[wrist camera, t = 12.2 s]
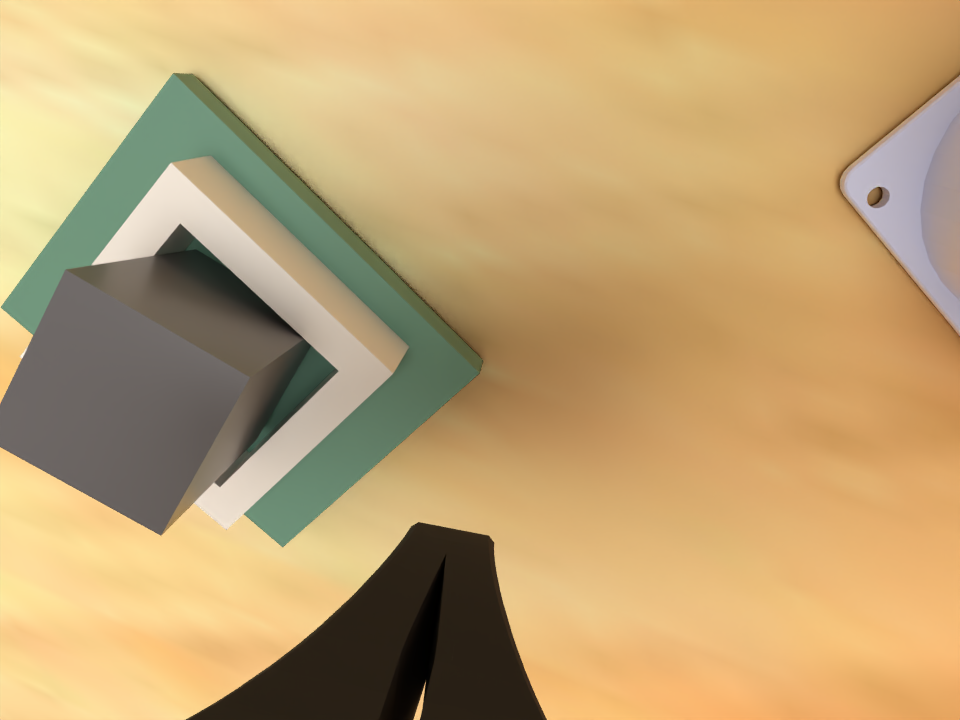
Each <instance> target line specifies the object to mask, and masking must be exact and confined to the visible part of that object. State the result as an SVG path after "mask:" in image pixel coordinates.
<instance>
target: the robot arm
mask: <svg viewBox="0 0 960 720" xmlns="http://www.w3.org/2000/svg"><path fill="white" fill-rule="evenodd" d="M876 187H881V188H882V191H883V196H882V199H881V200H880V201H879V203H877V204H875V205H873V206H869V205H868V202H867V197H868V194H869V193H870V191H871V190H872V189H874V188H876ZM840 189H841V191H842V193H843V195H844V196H845V198H846V199H847V200H848V201H849V202H850V204H851V205H852V206H853V207H854V209H855V210H856V211H857V212H858V213H859V215H860V216H861V217H862V218H863V219H864V221H865V222H866V223H867V224H868V226H869V227H870V228H871V229H872V230H873V232H874V233H875V234H876V235H877V236H878V238H879V239H880V240H881V241H882V242H883V244H884V245H885V246H886V247H887V249H888V250H889V251H890V252H891V253H892V255H893V256H894V257H895V258H896V259H897V261H898V262H899V263H900V264H901V266H902V267H903V268H904V269H905V270H906V272H907V273H908V274H909V275H910V276H911V278H912V279H913V280H914V281H915V282H916V284H917V285H918V286H919V287H920V289H921V290H922V291H923V292H924V293H925V295H926V296H927V297H928V298H929V299H930V301H931V302H932V303H933V304H934V306H935V307H936V308H937V309H938V310H939V312H940V313H941V314H942V315H943V316H944V318H945V319H946V320H947V321H948V322H949V324H950V325H951V326H952V327H953V329H954V330H955V331H956V332H957V333H958V335H959V336H960V75H959V76H958V77H957V78H956V79H955V80H953V81H952V82H951V83H950V84H948V85H947V86H946V87H945V88H944V89H942V90H941V91H940V92H939V93H938V94H936V95H935V96H934V97H933V98H931V99H930V100H929V101H928V102H927V103H925V104H924V105H923V106H922V107H920V108H919V109H918V110H917V111H916V112H914V113H913V114H912V115H911V116H909V117H908V118H907V119H906V120H905V121H903V122H902V123H901V124H900V125H899V126H897V127H896V128H895V129H894V130H892V131H891V132H890V133H889V134H888V135H886V136H885V137H884V138H883V139H881V140H880V141H879V142H878V143H877V144H875V145H874V146H873V147H872V148H870V149H869V150H868V151H867V152H866V153H864V154H863V155H862V156H861V157H860V158H858V159H857V160H856V161H855V162H853V163H852V164H851V165H850V166H849V167H848V168H847V169H846V170H845V171H844V172H843V174H842V177H841V179H840ZM425 682H426V685H425ZM424 685H425V693H424V702H423V710H422V714H421V718H420V720H547V719H546V717H545V715H544V713H543V711H542V709H541V706H540V704H539V702H538V700H537V698H536V696H535V693H534V691H533V689H532V686H531V684H530V681H529V679H528V676H527V674H526V671H525V669H524V666H523V663H522V661H521V658H520V655H519V653H518V650H517V647H516V644H515V641H514V638H513V635H512V632H511V629H510V625H509V622H508V618H507V615H506V611H505V608H504V605H503V601H502V597H501V593H500V588H499V583H498V578H497V573H496V567H495V559H494V542H493V541H492V539H491V538H490V537H489V536H487V535H482V534H477V533H472V532H467V531H461V530H456V529H451V528H446V527H441V526H435V525H430V524H425V523H420V522H418V523H417V524H415V525H413V526H411V528H410V529H409V531H408V532H407V534H406V535H405V537H404V538H403V539H402V541H401V542H400V543H399V545H398V546H397V547H396V548H395V550H394V551H393V552H392V553H391V555H390V556H389V557H388V558H387V559H386V560H385V562H384V563H383V564H382V565H381V566H380V567H379V568H378V570H377V571H376V572H375V573H374V574H373V575H372V576H371V577H370V578H369V579H368V580H367V581H366V582H365V583H364V584H363V585H362V587H361V588H360V589H359V590H358V591H357V592H356V593H355V594H354V595H353V596H352V597H351V598H350V599H349V600H348V601H347V602H346V603H344V604H343V605H342V606H341V607H340V608H339V609H338V610H337V611H336V612H335V613H334V614H333V615H332V616H330V617H329V618H328V619H327V620H326V621H325V622H324V623H323V624H322V625H321V626H320V627H318V628H317V629H316V630H315V631H314V632H313V633H311V634H310V635H309V636H308V637H307V638H305V639H304V640H303V641H302V642H301V643H299V644H298V645H297V646H296V647H294V648H293V649H292V650H291V651H289V652H288V653H287V654H285V655H284V656H283V657H281V658H280V659H279V660H278V661H276V662H275V663H273V664H272V665H271V666H269V667H268V668H266V669H265V670H264V671H262V672H261V673H259V674H258V675H256V676H255V677H254V678H252V679H251V680H249V681H248V682H246V683H245V684H243V685H242V686H241V687H239V688H238V689H236V690H235V691H233V692H231V693H230V694H228V695H227V696H225V697H224V698H222V699H220V700H219V701H217V702H216V703H214V704H212V705H211V706H209V707H207V708H205V709H204V710H202V711H200V712H198V713H197V714H195V715H193V716H191V717H190V718H188V719H186V720H413V719H414V716H415V713H416V710H417V706H418V703H419V700H420V697H421V694H422V691H423V688H424Z"/></svg>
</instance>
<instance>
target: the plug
mask: <svg viewBox="0 0 960 720" xmlns="http://www.w3.org/2000/svg"><path fill="white" fill-rule="evenodd" d="M310 346H311V345H310V344H309V343H308V342H307V341H306V340H305V339H304V338H303V337H302V336H301V335H300V334H299V333H297V332H296V331H295V330H294V329H293V328H292V327H291V326H290V325H289V324H288V323H287V322H286V321H285V320H283V319H282V318H281V317H280V316H279V315H278V314H277V313H276V312H275V311H274V310H273V309H272V308H271V307H269V306H268V305H267V304H266V303H265V302H264V301H263V300H262V299H261V298H260V297H259V296H258V295H257V294H256V293H254V292H253V291H252V290H251V289H250V288H249V287H248V286H247V285H246V284H245V283H244V282H243V281H242V280H240V279H239V278H238V277H237V276H236V275H235V274H234V273H233V272H232V271H231V270H230V269H228V268H226V267H225V266H223V265H221V264H220V263H218V262H216V261H215V260H213V259H211V258H210V257H208V256H206V255H205V254H203V253H201V252H200V251H198V250H196V249H194V250H187V251H181V252H174V253H168V254H162V255H155V256H149V257H142V258H136V259H129V260H123V261H117V262H110V263H104V264H97V265H91V266H84V267H78V268H72V269H65V271H64V273H63V275H62V277H61V279H60V282H59V284H58V286H57V288H56V290H55V292H54V294H53V296H52V298H51V300H50V302H49V304H48V306H47V308H46V311H45V313H44V315H43V317H42V319H41V321H40V323H39V325H38V327H37V329H36V331H35V333H34V335H33V337H32V340H31V342H30V344H29V346H28V348H27V350H26V352H25V354H24V356H23V358H22V360H21V362H20V364H19V366H18V369H17V371H16V373H15V375H14V377H13V379H12V381H11V383H10V385H9V387H8V389H7V391H6V393H5V395H4V398H3V400H2V402H1V404H0V447H1V448H3V449H5V450H6V451H8V452H10V453H12V454H14V455H16V456H17V457H19V458H21V459H23V460H25V461H26V462H28V463H30V464H32V465H34V466H36V467H37V468H39V469H41V470H43V471H45V472H46V473H48V474H50V475H52V476H54V477H56V478H57V479H59V480H61V481H63V482H65V483H66V484H68V485H70V486H72V487H74V488H76V489H77V490H79V491H81V492H83V493H85V494H86V495H88V496H90V497H92V498H94V499H96V500H97V501H99V502H101V503H103V504H105V505H106V506H108V507H110V508H112V509H114V510H116V511H117V512H119V513H121V514H123V515H125V516H126V517H128V518H130V519H132V520H134V521H135V522H137V523H139V524H141V525H143V526H145V527H146V528H148V529H150V530H152V531H154V532H155V533H157V534H159V535H162V534H163V533H164V532H165V531H166V530H167V529H168V528H169V527H170V526H171V525H172V524H173V523H174V522H175V521H176V520H177V519H178V518H179V517H180V516H181V515H182V514H183V513H184V512H185V511H186V510H187V509H188V508H189V507H190V506H191V505H192V504H193V503H194V502H195V501H196V500H197V499H198V498H199V497H200V496H201V495H202V494H203V493H204V492H205V491H206V490H207V489H208V488H209V487H210V486H211V485H212V484H213V483H214V482H215V481H216V480H217V479H218V478H219V477H220V476H221V475H222V474H223V473H224V472H225V471H226V470H227V469H228V468H229V467H230V466H231V465H232V464H233V463H234V462H235V461H236V460H237V459H238V458H239V457H240V456H241V455H242V454H243V453H244V452H245V451H246V450H247V449H248V448H249V447H250V446H251V445H252V444H253V443H254V442H255V441H256V440H257V438H258V436H259V435H260V433H261V431H262V430H263V428H264V426H265V424H266V423H267V421H268V419H269V417H270V416H271V414H272V412H273V410H274V409H275V407H276V405H277V404H278V402H279V400H280V398H281V397H282V395H283V393H284V391H285V390H286V388H287V386H288V385H289V383H290V381H291V379H292V378H293V376H294V374H295V372H296V371H297V369H298V367H299V365H300V364H301V362H302V360H303V359H304V357H305V355H306V353H307V352H308V350H309V348H310Z"/></svg>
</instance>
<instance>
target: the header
mask: <svg viewBox="0 0 960 720" xmlns="http://www.w3.org/2000/svg"><path fill="white" fill-rule="evenodd" d="M194 238H196V239H198V240H199V241H200V242H201V243H202V244H203V245H204V246H205V247H206V248H207V249H208V250H209V251H210V252H211V253H213V254H214V255H215V256H216V257H217V258H218V259H219V260H220V261H221V262H222V263H223V264H224V265H225V266H227V267H228V268H229V269H230V270H231V271H232V272H233V273H234V274H235V275H236V276H237V277H238V278H239V279H240V280H242V281H243V282H244V283H245V284H246V285H247V286H248V287H249V288H250V289H251V290H252V291H253V292H254V293H256V294H257V295H258V296H259V297H260V298H261V299H262V300H263V301H264V302H265V303H266V304H267V305H268V306H269V307H271V308H272V309H273V310H274V311H275V312H276V313H277V314H278V315H279V316H280V317H281V318H282V319H283V320H285V321H286V322H287V323H288V324H289V325H290V326H291V327H292V328H293V329H294V330H295V331H296V332H297V333H299V334H300V335H301V336H302V337H303V338H304V339H305V340H306V341H307V342H308V343H309V344H310V345H311V346H312V347H314V348H315V349H316V350H317V351H318V352H319V353H320V354H321V355H322V356H323V357H324V358H325V359H326V360H328V361H329V362H330V363H331V364H332V365H333V366H334V367H335V368H336V369H335V370H334V371H333V372H332V373H330V374H329V375H328V376H327V377H326V378H325V379H324V380H323V381H322V382H321V383H320V384H319V385H318V386H317V387H316V388H315V389H314V390H313V391H312V392H311V393H310V394H309V395H308V396H307V397H306V398H305V399H304V400H303V401H302V402H301V403H300V404H299V405H298V406H297V407H296V408H295V409H294V410H293V411H292V412H291V413H290V414H289V415H288V416H287V417H286V418H285V419H284V420H283V421H282V422H281V423H280V424H278V425H277V426H276V427H275V428H274V429H273V430H272V431H271V432H270V433H269V434H268V435H267V436H266V437H265V438H264V439H263V440H262V441H261V442H260V443H259V444H258V445H257V446H256V447H255V448H254V449H253V450H252V451H251V452H250V453H249V452H248V451H247V450H246V451H245V452H244V453H243V454H242V455H241V456H240V457H239V458H238V459H237V460H236V461H235V462H234V463H233V464H232V465H231V466H230V467H229V468H228V469H227V470H226V471H225V472H224V473H223V474H222V475H221V476H220V477H219V478H218V479H217V480H216V481H215V482H214V483H213V484H212V485H211V486H210V487H209V488H208V489H207V490H206V491H205V492H204V493H203V494H202V495H201V496H200V497H199V498H198V499H197V500H196V501H195V502H194V503H195V504H196V505H197V506H198V507H199V508H201V509H202V510H203V511H204V512H205V513H207V514H208V515H209V516H210V517H211V518H212V519H214V520H215V521H216V522H217V523H218V524H220V525H221V526H222V527H223V528H224V529H226V530H227V529H228V528H229V527H230V526H231V525H232V524H233V523H234V522H235V521H237V520H238V519H239V518H240V517H241V516H242V515H243V514H244V513H245V512H246V511H247V510H248V509H249V508H250V507H251V506H253V505H254V504H255V503H256V502H257V501H258V500H259V499H260V498H261V497H262V496H263V495H264V494H265V493H266V492H268V491H269V490H270V489H271V488H272V487H273V486H274V485H275V484H276V483H277V482H278V481H279V480H280V479H281V478H282V477H284V476H285V475H286V474H287V473H288V472H289V471H290V470H291V469H292V468H293V467H294V466H295V465H296V464H297V463H298V462H300V461H301V460H302V459H303V458H304V457H305V456H306V455H307V454H308V453H309V452H310V451H311V450H312V449H313V448H314V447H316V446H317V445H318V444H319V443H320V442H321V441H322V440H323V439H324V438H325V437H326V436H327V435H328V434H329V433H330V432H332V431H333V430H334V429H335V428H336V427H337V426H338V425H339V424H340V423H341V422H342V421H343V420H344V419H345V418H346V417H348V416H349V415H350V414H351V413H352V412H353V411H354V410H355V409H356V408H357V407H358V406H359V405H360V404H361V403H362V402H364V401H365V400H366V399H367V398H368V397H369V396H370V395H371V394H372V393H373V392H374V391H375V390H376V389H377V388H378V387H380V386H381V385H382V384H383V383H384V382H385V381H386V380H387V379H388V378H389V377H390V376H391V375H392V374H393V373H394V372H395V370H396V368H397V367H398V365H399V363H400V361H401V360H402V358H403V356H404V355H405V353H406V351H407V350H408V348H409V346H408V345H407V344H406V343H405V342H404V341H403V340H402V339H401V338H400V337H399V336H398V335H397V334H396V333H395V332H394V331H392V330H391V329H390V328H389V327H388V326H387V325H386V324H385V323H384V322H383V321H382V320H381V319H380V318H379V317H378V316H377V315H376V314H375V313H374V312H373V311H372V310H371V309H370V308H369V307H368V306H367V305H366V304H364V303H363V302H362V301H361V300H360V299H359V298H358V297H357V296H356V295H355V294H354V293H353V292H352V291H351V290H350V289H349V288H348V287H347V286H346V285H345V284H344V283H343V282H342V281H341V280H340V279H339V278H338V277H336V276H335V275H334V274H333V273H332V272H331V271H330V270H329V269H328V268H327V267H326V266H325V265H324V264H323V263H322V262H321V261H320V260H319V259H318V258H317V257H316V256H315V255H314V254H313V253H312V252H311V251H309V250H308V249H307V248H306V247H305V246H304V245H303V244H302V243H301V242H300V241H299V240H298V239H297V238H296V237H295V236H294V235H293V234H292V233H291V232H290V231H289V230H288V229H287V228H286V227H285V226H284V225H283V224H281V223H280V222H279V221H278V220H277V219H276V218H275V217H274V216H273V215H272V214H271V213H270V212H269V211H268V210H267V209H266V208H265V207H264V206H263V205H262V204H261V203H260V202H259V201H258V200H257V199H256V198H254V197H253V196H252V195H251V194H250V193H249V192H248V191H247V190H246V189H245V188H244V187H243V186H242V185H241V184H240V183H239V182H238V181H237V180H236V179H235V178H234V177H233V176H232V175H231V174H230V173H229V172H228V171H226V170H225V169H224V168H223V167H222V166H221V165H220V164H219V163H218V162H217V161H216V160H215V159H214V158H213V157H212V156H211V155H210V156H204V157H199V158H194V159H188V160H183V161H177V162H172V163H170V165H169V166H168V167H167V168H166V170H165V171H164V172H163V174H162V175H161V176H160V177H159V179H158V180H157V181H156V183H155V184H154V185H153V186H152V188H151V189H150V190H149V192H148V193H147V194H146V195H145V197H144V198H143V199H142V201H141V202H140V203H139V204H138V206H137V207H136V208H135V210H134V211H133V212H132V213H131V215H130V216H129V217H128V219H127V220H126V221H125V222H124V224H123V225H122V226H121V228H120V229H119V230H118V231H117V233H116V234H115V235H114V237H113V238H112V239H111V240H110V242H109V243H108V244H107V245H106V247H105V248H104V249H103V251H102V252H101V253H100V254H99V256H98V257H97V258H96V260H95V261H94V262H93V263H92V265H97V264H104V263H110V262H117V261H123V260H129V259H136V258H142V257H149V256H155V255H162V254H168V253H174V252H181V251H184V250H185V249H186V248H187V247H188V245H189V244H190V243H191V242H192V241H193V239H194ZM27 348H28V347H27ZM27 348H26V350H27ZM26 350H25V351H24V352H23V353H22V355H21V356H20V357H21V358H23V356H24V354H25V352H26Z"/></svg>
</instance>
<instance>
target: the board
mask: <svg viewBox="0 0 960 720" xmlns="http://www.w3.org/2000/svg"><path fill="white" fill-rule="evenodd" d="M210 155H211V156H212V157H213V158H214V159H215V160H216V161H217V162H218V163H219V164H220V165H221V166H222V167H223V168H224V169H225V170H226V171H228V172H229V173H230V174H231V175H232V176H233V177H234V178H235V179H236V180H237V181H238V182H239V183H240V184H241V185H242V186H243V187H244V188H245V189H246V190H247V191H248V192H249V193H250V194H251V195H252V196H253V197H254V198H256V199H257V200H258V201H259V202H260V203H261V204H262V205H263V206H264V207H265V208H266V209H267V210H268V211H269V212H270V213H271V214H272V215H273V216H274V217H275V218H276V219H277V220H278V221H279V222H280V223H281V224H283V225H284V226H285V227H286V228H287V229H288V230H289V231H290V232H291V233H292V234H293V235H294V236H295V237H296V238H297V239H298V240H299V241H300V242H301V243H302V244H303V245H304V246H305V247H306V248H307V249H308V250H309V251H311V252H312V253H313V254H314V255H315V256H316V257H317V258H318V259H319V260H320V261H321V262H322V263H323V264H324V265H325V266H326V267H327V268H328V269H329V270H330V271H331V272H332V273H333V274H334V275H335V276H336V277H338V278H339V279H340V280H341V281H342V282H343V283H344V284H345V285H346V286H347V287H348V288H349V289H350V290H351V291H352V292H353V293H354V294H355V295H356V296H357V297H358V298H359V299H360V300H361V301H362V302H363V303H364V304H366V305H367V306H368V307H369V308H370V309H371V310H372V311H373V312H374V313H375V314H376V315H377V316H378V317H379V318H380V319H381V320H382V321H383V322H384V323H385V324H386V325H387V326H388V327H389V328H390V329H391V330H392V331H394V332H395V333H396V334H397V335H398V336H399V337H400V338H401V339H402V340H403V341H404V342H405V343H406V344H407V345H408V346H409V348H408V350H407V351H406V353H405V355H404V356H403V358H402V360H401V361H400V363H399V365H398V367H397V368H396V370H395V372H394V373H393V374H392V375H391V376H390V377H389V378H388V379H387V380H386V381H385V382H384V383H383V384H382V385H381V386H380V387H378V388H377V389H376V390H375V391H374V392H373V393H372V394H371V395H370V396H369V397H368V398H367V399H366V400H365V401H364V402H362V403H361V404H360V405H359V406H358V407H357V408H356V409H355V410H354V411H353V412H352V413H351V414H350V415H349V416H348V417H346V418H345V419H344V420H343V421H342V422H341V423H340V424H339V425H338V426H337V427H336V428H335V429H334V430H333V431H332V432H330V433H329V434H328V435H327V436H326V437H325V438H324V439H323V440H322V441H321V442H320V443H319V444H318V445H317V446H316V447H314V448H313V449H312V450H311V451H310V452H309V453H308V454H307V455H306V456H305V457H304V458H303V459H302V460H301V461H300V462H298V463H297V464H296V465H295V466H294V467H293V468H292V469H291V470H290V471H289V472H288V473H287V474H286V475H285V476H284V477H282V478H281V479H280V480H279V481H278V482H277V483H276V484H275V485H274V486H273V487H272V488H271V489H270V490H269V491H268V492H266V493H265V494H264V495H263V496H262V497H261V498H260V499H259V500H258V501H257V502H256V503H255V504H254V505H253V506H251V507H250V508H249V509H248V510H247V511H246V512H245V513H244V515H245V516H247V517H248V518H249V519H250V520H251V521H252V522H254V523H255V524H256V525H257V526H258V527H259V528H261V529H262V530H263V531H264V532H265V533H267V534H268V535H269V536H270V537H271V538H272V539H274V540H275V541H276V542H277V543H278V544H279V545H281V546H282V547H284V546H285V545H286V544H287V543H288V542H289V541H290V540H292V539H293V538H294V537H295V536H296V535H297V534H298V533H299V532H301V531H302V530H303V529H304V528H305V527H306V526H307V525H308V524H310V523H311V522H312V521H313V520H314V519H315V518H316V517H318V516H319V515H320V514H321V513H322V512H323V511H324V510H325V509H327V508H328V507H329V506H330V505H331V504H332V503H333V502H335V501H336V500H337V499H338V498H339V497H340V496H341V495H342V494H344V493H345V492H346V491H347V490H348V489H349V488H350V487H351V486H353V485H354V484H355V483H356V482H357V481H358V480H359V479H361V478H362V477H363V476H364V475H365V474H366V473H367V472H368V471H370V470H371V469H372V468H373V467H374V466H375V465H376V464H377V463H379V462H380V461H381V460H382V459H383V458H384V457H385V456H387V455H388V454H389V453H390V452H391V451H392V450H393V449H394V448H396V447H397V446H398V445H399V444H400V443H401V442H402V441H403V440H405V439H406V438H407V437H408V436H409V435H410V434H411V433H413V432H414V431H415V430H416V429H417V428H418V427H419V426H420V425H422V424H423V423H424V422H425V421H426V420H427V419H428V418H430V417H431V416H432V415H433V414H434V413H435V412H436V411H437V410H439V409H440V408H441V407H442V406H443V405H444V404H445V403H446V402H448V401H449V400H450V399H451V398H452V397H453V396H454V395H456V394H457V393H458V392H459V391H460V390H461V389H462V388H463V387H465V386H466V385H467V384H468V383H469V382H470V381H471V380H472V379H474V378H475V377H476V376H477V375H478V374H479V373H480V370H481V367H482V363H483V360H482V359H481V358H480V357H479V356H478V355H477V354H476V353H475V352H474V351H473V350H472V349H471V348H470V347H469V346H468V345H467V344H466V343H465V342H464V341H463V340H462V339H461V338H460V337H459V336H458V335H457V334H456V333H455V332H454V331H453V330H452V329H451V328H450V327H449V326H448V325H447V324H446V323H445V322H444V321H443V320H442V319H441V318H440V317H439V316H438V315H437V314H436V313H435V312H434V311H433V310H432V309H431V308H430V307H429V306H428V305H427V304H425V303H424V302H423V301H422V300H421V299H420V298H419V297H418V296H417V295H416V294H415V293H414V292H413V291H412V290H411V289H410V288H409V287H408V286H407V285H406V284H405V283H404V282H403V281H402V280H401V279H400V278H399V277H398V276H397V275H396V274H395V273H394V272H393V271H392V270H391V269H390V268H389V267H388V266H387V265H386V264H385V263H384V262H383V261H382V260H381V259H380V258H379V257H378V256H377V255H376V254H375V253H374V252H373V251H372V250H371V249H370V248H369V247H368V246H367V245H366V244H365V243H364V242H363V241H362V240H361V239H360V238H359V237H358V236H356V235H355V234H354V233H353V232H352V231H351V230H350V229H349V228H348V227H347V226H346V225H345V224H344V223H343V222H342V221H341V220H340V219H339V218H338V217H337V216H336V215H335V214H334V213H333V212H332V211H331V210H330V209H329V208H328V207H327V206H326V205H325V204H324V203H323V202H322V201H321V200H320V199H319V198H318V197H317V196H316V195H315V194H314V193H313V192H312V191H311V190H310V189H309V188H308V187H307V186H306V185H305V184H304V183H303V182H302V181H301V180H300V179H299V178H298V177H297V176H296V175H295V174H294V173H293V172H292V171H291V170H290V169H288V168H287V167H286V166H285V165H284V164H283V163H282V162H281V161H280V160H279V159H278V158H277V157H276V156H275V155H274V154H273V153H272V152H271V151H270V150H269V149H268V148H267V147H266V146H265V145H264V144H263V143H262V142H261V141H260V140H259V139H258V138H257V137H256V136H255V135H254V134H253V133H252V132H251V131H250V130H249V129H248V128H247V127H246V126H245V125H244V124H243V123H242V122H241V121H240V120H239V119H238V118H237V117H236V116H235V115H234V114H233V113H232V112H231V111H230V110H229V109H228V108H227V107H226V106H225V105H224V104H223V103H222V102H221V101H219V100H218V99H217V98H216V97H215V96H214V95H213V94H212V93H211V92H210V91H209V90H208V89H207V88H206V87H205V86H204V85H203V84H202V83H201V82H200V81H199V80H198V79H197V78H196V77H195V76H194V75H193V74H179V73H173V74H172V76H171V77H170V78H169V80H168V81H167V82H166V84H165V85H164V86H163V88H162V89H161V90H160V92H159V93H158V95H157V96H156V97H155V99H154V100H153V101H152V103H151V104H150V105H149V107H148V108H147V109H146V111H145V112H144V114H143V115H142V116H141V118H140V119H139V120H138V122H137V123H136V124H135V126H134V127H133V128H132V130H131V131H130V133H129V134H128V135H127V137H126V138H125V139H124V141H123V142H122V143H121V145H120V146H119V147H118V149H117V150H116V152H115V153H114V154H113V156H112V157H111V158H110V160H109V161H108V162H107V164H106V165H105V166H104V168H103V169H102V171H101V172H100V173H99V175H98V176H97V177H96V179H95V180H94V181H93V183H92V184H91V185H90V187H89V188H88V190H87V191H86V192H85V194H84V195H83V196H82V198H81V199H80V200H79V202H78V203H77V204H76V206H75V207H74V209H73V210H72V211H71V213H70V214H69V215H68V217H67V218H66V219H65V221H64V222H63V223H62V225H61V226H60V228H59V229H58V230H57V232H56V233H55V234H54V236H53V237H52V238H51V240H50V241H49V242H48V244H47V245H46V247H45V248H44V249H43V251H42V252H41V253H40V255H39V256H38V257H37V259H36V260H35V261H34V263H33V264H32V265H31V267H30V268H29V270H28V271H27V272H26V274H25V275H24V276H23V278H22V279H21V280H20V282H19V283H18V284H17V286H16V287H15V289H14V290H13V291H12V293H11V294H10V295H9V297H8V298H7V299H6V301H5V302H4V303H3V305H2V306H1V308H2V309H3V310H4V311H6V312H7V313H8V314H9V315H10V316H11V317H13V318H14V319H15V320H16V321H17V322H19V323H20V324H21V325H22V326H23V327H24V328H26V329H27V330H28V331H29V332H30V333H31V334H33V335H34V333H35V331H36V329H37V327H38V325H39V323H40V321H41V319H42V317H43V315H44V313H45V311H46V308H47V306H48V304H49V302H50V300H51V298H52V296H53V294H54V292H55V290H56V288H57V286H58V284H59V282H60V279H61V277H62V275H63V273H64V271H65V269H72V268H78V267H84V266H91V265H92V263H93V262H94V261H95V260H96V258H97V257H98V256H99V254H100V253H101V252H102V251H103V249H104V248H105V247H106V245H107V244H108V243H109V242H110V240H111V239H112V238H113V237H114V235H115V234H116V233H117V231H118V230H119V229H120V228H121V226H122V225H123V224H124V222H125V221H126V220H127V219H128V217H129V216H130V215H131V213H132V212H133V211H134V210H135V208H136V207H137V206H138V204H139V203H140V202H141V201H142V199H143V198H144V197H145V195H146V194H147V193H148V192H149V190H150V189H151V188H152V186H153V185H154V184H155V183H156V181H157V180H158V179H159V177H160V176H161V175H162V174H163V172H164V171H165V170H166V168H167V167H168V166H169V165H170V163H172V162H177V161H183V160H188V159H194V158H199V157H204V156H210ZM194 249H196V250H198V251H200V252H201V253H203V254H205V255H206V256H208V257H210V258H211V259H213V260H215V261H216V262H218V263H220V264H221V265H223V266H225V265H224V264H223V263H222V262H221V261H220V260H219V259H218V258H217V257H216V256H215V255H214V254H213V253H211V252H210V251H209V250H208V249H207V248H206V247H205V246H204V245H203V244H202V243H201V242H200V241H199V240H198V239H196V238H194V239H193V241H192V242H191V243H190V244H189V245H188V247H187V248H186V249H185V250H184V251H187V250H194ZM225 267H226V268H228V267H227V266H225ZM228 269H229V268H228ZM335 369H336V368H335V367H334V366H333V365H332V364H331V363H330V362H329V361H328V360H326V359H325V358H324V357H323V356H322V355H321V354H320V353H319V352H318V351H317V350H316V349H315V348H314V347H312V346H310V348H309V350H308V352H307V353H306V355H305V357H304V359H303V360H302V362H301V364H300V365H299V367H298V369H297V371H296V372H295V374H294V376H293V378H292V379H291V381H290V383H289V385H288V386H287V388H286V390H285V391H284V393H283V395H282V397H281V398H280V400H279V402H278V404H277V405H276V407H275V409H274V410H273V412H272V414H271V416H270V417H269V419H268V421H267V423H266V424H265V426H264V428H263V430H262V431H261V433H260V435H259V436H258V438H257V440H256V441H255V442H254V443H253V444H252V445H251V446H250V447H249V448H248V449H247V451H248V452H249V453H250V452H251V451H252V450H253V449H254V448H255V447H256V446H257V445H258V444H259V443H260V442H261V441H262V440H263V439H264V438H265V437H266V436H267V435H268V434H269V433H270V432H271V431H272V430H273V429H274V428H275V427H276V426H277V425H278V424H280V423H281V422H282V421H283V420H284V419H285V418H286V417H287V416H288V415H289V414H290V413H291V412H292V411H293V410H294V409H295V408H296V407H297V406H298V405H299V404H300V403H301V402H302V401H303V400H304V399H305V398H306V397H307V396H308V395H309V394H310V393H311V392H312V391H313V390H314V389H315V388H316V387H317V386H318V385H319V384H320V383H321V382H322V381H323V380H324V379H325V378H326V377H327V376H328V375H329V374H330V373H332V372H333V371H334V370H335Z"/></svg>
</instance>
